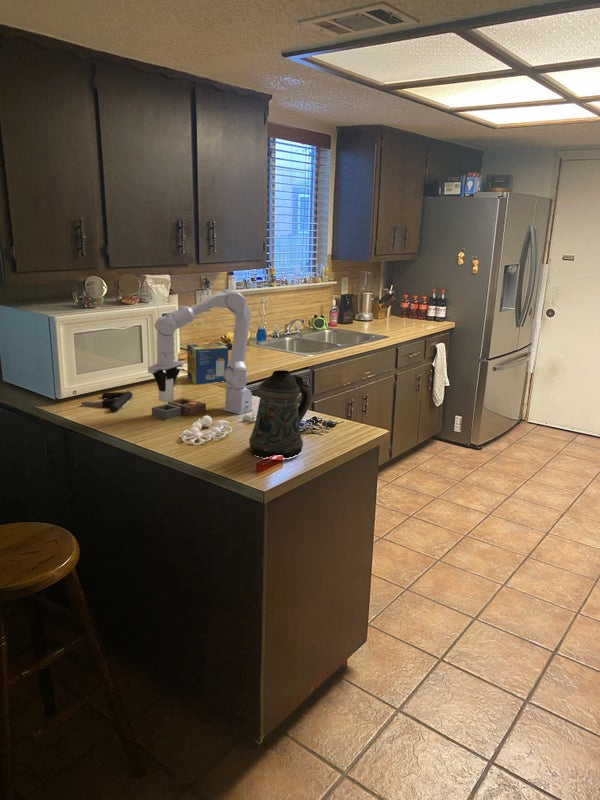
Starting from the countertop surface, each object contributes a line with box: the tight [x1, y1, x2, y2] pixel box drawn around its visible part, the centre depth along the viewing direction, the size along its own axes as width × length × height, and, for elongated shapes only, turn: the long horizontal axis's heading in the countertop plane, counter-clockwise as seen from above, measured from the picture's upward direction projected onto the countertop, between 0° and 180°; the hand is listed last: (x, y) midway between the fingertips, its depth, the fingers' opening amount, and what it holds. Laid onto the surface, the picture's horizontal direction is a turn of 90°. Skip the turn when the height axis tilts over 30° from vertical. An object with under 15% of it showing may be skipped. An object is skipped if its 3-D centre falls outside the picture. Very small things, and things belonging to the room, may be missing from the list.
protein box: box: [186, 342, 229, 385], centre depth 262 cm, size 10×15×16 cm
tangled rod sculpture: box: [179, 415, 233, 446], centre depth 195 cm, size 19×14×4 cm
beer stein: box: [248, 369, 312, 458], centre depth 183 cm, size 16×19×25 cm
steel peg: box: [158, 376, 175, 403], centre depth 211 cm, size 4×4×8 cm
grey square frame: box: [151, 403, 182, 421], centre depth 214 cm, size 7×7×3 cm
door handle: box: [81, 390, 133, 413], centre depth 224 cm, size 3×20×16 cm
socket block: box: [167, 397, 207, 417], centre depth 220 cm, size 11×8×3 cm
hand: (166, 389), depth 211 cm, fingers closed on steel peg, 4 cm apart
